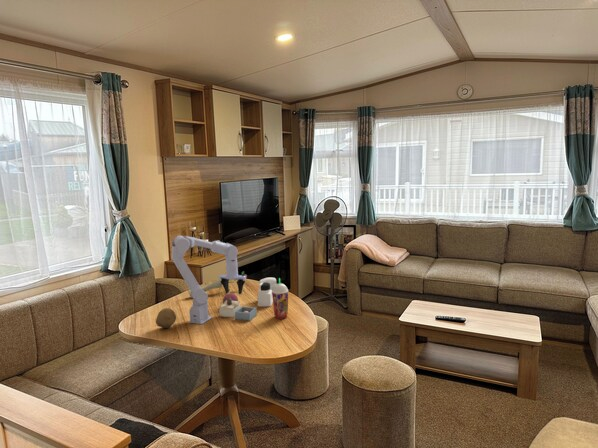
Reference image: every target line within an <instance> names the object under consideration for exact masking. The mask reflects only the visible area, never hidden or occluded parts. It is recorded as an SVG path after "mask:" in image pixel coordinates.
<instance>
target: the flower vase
mask: <svg viewBox="0 0 598 448" xmlns="http://www.w3.org/2000/svg"><path fill="white" fill-rule="evenodd" d="M241 276H246V280H245V282H246V281H247V278H248V275H247V274H245V271H244V270H243V271H242V272H241ZM220 281H221V279H219V277H218V278H217V279H216V280H214V281H212V282H211V283H210V282H209V283H208V284H206V285H202V286H200V287H201V288H202V289H203V291H204V292H205V293H207V292H208V291H210V290H213V289H214V290H215V289H220V288H223V285H222V284H221V282H220ZM237 281H239V280H237ZM234 282H236V280H230V281H229V284H232V283H234ZM244 285H245V286H246V284H244ZM230 290H231V291H232V292H234V290H233V289H232V288H229V292H230ZM187 292H188V294H189V297H190V298H191V299H193V298H192V295H191V290H190V289H188V291H187Z"/></svg>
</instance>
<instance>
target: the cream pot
mask: <svg viewBox="0 0 598 448" xmlns="http://www.w3.org/2000/svg"><path fill="white" fill-rule="evenodd" d="M241 307H242V306H241V304H238V305H237V306H236V307H235V308H234V310H229V309H220V308H219V311H218V312H219V317H223V318H230V319H231V318H232V319H234V318H235V312H236V311H237V310H238V309H240V308H241Z"/></svg>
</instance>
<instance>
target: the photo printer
mask: <svg viewBox="0 0 598 448" xmlns="http://www.w3.org/2000/svg"><path fill="white" fill-rule="evenodd" d="M263 282H267V283H270V290H272V289H273V287H274V286H275V285H276V284H277V279H276V278H275V277H265V278H262V279H260V280H259V281H258V285H259V284H260V283H263Z"/></svg>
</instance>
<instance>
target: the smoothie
mask: <svg viewBox="0 0 598 448" xmlns="http://www.w3.org/2000/svg"><path fill="white" fill-rule="evenodd" d="M272 298H273V303H272V304H273V313H274V316H275V318H276V319H278V320H281V319H286V318H287V317H288V315H289V289H288V287H287V286H286V285H285V284H284V283H282V282H281V278H280V277H279V278H278V283H276V285H275V286H274V287H273V289H272Z"/></svg>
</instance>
